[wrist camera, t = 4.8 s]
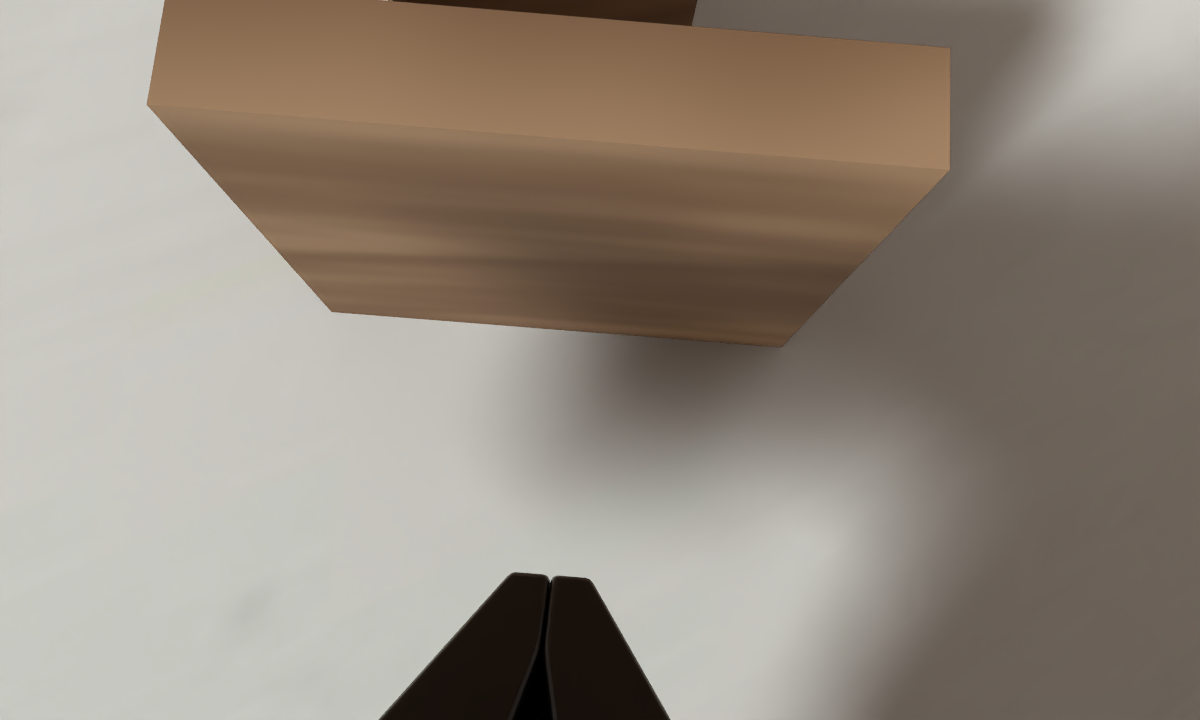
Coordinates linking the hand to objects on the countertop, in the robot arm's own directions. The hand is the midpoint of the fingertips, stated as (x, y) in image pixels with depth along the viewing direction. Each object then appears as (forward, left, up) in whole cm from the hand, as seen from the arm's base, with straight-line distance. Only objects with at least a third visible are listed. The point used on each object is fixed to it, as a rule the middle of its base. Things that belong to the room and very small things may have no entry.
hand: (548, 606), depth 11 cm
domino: (+6, 0, -11) cm, 12 cm away
